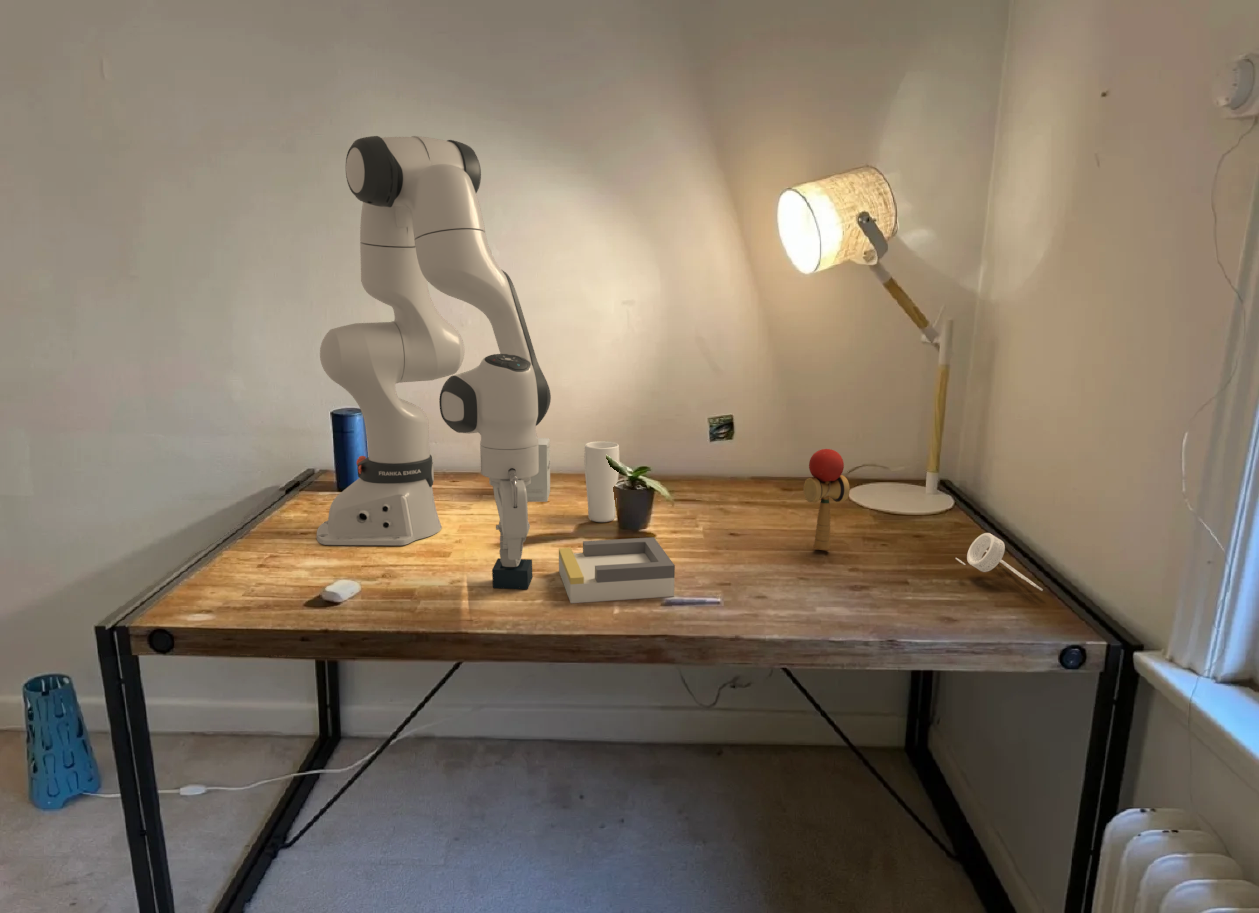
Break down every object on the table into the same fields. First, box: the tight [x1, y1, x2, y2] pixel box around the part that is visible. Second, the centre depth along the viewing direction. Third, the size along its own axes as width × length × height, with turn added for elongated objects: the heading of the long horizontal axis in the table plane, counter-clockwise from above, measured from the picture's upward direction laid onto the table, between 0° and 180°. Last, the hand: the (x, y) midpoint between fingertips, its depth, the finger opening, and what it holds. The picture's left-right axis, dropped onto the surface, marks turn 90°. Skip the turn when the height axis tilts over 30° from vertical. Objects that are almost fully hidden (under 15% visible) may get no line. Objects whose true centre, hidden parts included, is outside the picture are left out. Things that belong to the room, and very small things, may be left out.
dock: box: [558, 536, 676, 604], centre depth 145 cm, size 16×14×5 cm
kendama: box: [802, 448, 851, 551], centre depth 162 cm, size 8×6×18 cm
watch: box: [491, 520, 534, 590], centre depth 143 cm, size 6×8×11 cm
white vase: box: [583, 440, 620, 523], centre depth 178 cm, size 7×7×15 cm
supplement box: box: [525, 437, 551, 503], centre depth 192 cm, size 7×7×13 cm
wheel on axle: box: [955, 532, 1044, 592], centre depth 151 cm, size 18×10×6 cm
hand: (511, 548), depth 143 cm, fingers open, 8 cm apart
